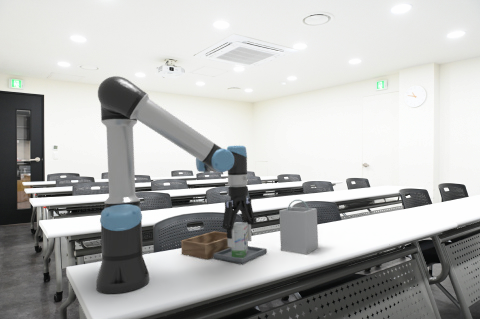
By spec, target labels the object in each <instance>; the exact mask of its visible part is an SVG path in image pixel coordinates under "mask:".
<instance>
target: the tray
mask: <svg viewBox="0 0 480 319" xmlns="http://www.w3.org/2000/svg"><path fill="white" fill-rule="evenodd" d="M266 253H267V248H264V247H256V246H250V245H248V252H247V253H246V255H245V257H244V258H240V257H232V247H231V248H228V249H225V250H223V251H220V252H217V253H214V254H213V258H212V259H214V260H218V261H223V262H227V263H234V264H238V265H244V264H246V263H248V262H251V261H253V260H255V259H257V258H260V257H262V256H264V255H266Z"/></svg>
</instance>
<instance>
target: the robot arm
mask: <svg viewBox="0 0 480 319" xmlns="http://www.w3.org/2000/svg"><path fill="white" fill-rule="evenodd" d="M97 98H98V100H99V103H100V112H101V113H100V118H101V120H100V121H101V123H102V124H103V125H104V126H105V127H106V147H107V148H106V149H107V151H106V152H107V173H108V175H107V176H108V178H107V179H108V181H107V182H108V198H107V199H106V200H105V201H104V209H102V211H101V213H100V219H99V223H100V228H101V229H100V230H101V233H100V235H101V236H100V238H101V239H100V240H101V263H100V267H99V270H98V273H97V277H96V281H95V282H96V283H95V288H96V291H98V292H99V293H103V294H122V293H126V292H131V291H132V292H133V291H135V290H138V289H140V288H143V287H145V286H146V285H147V284H148V283H149V281H150V272H149V269H148V267H147V265H146V262H145V258H144V255H143V232H142V231H143V226H142V220H143V214H142V210H141V199H140V197H138V196H137V194H136V181H135V180H136V178H135V177H136V174H135V151H134V129H133V128H134V126H135V125H136V124H137V123H138V122H140V123H142V124H143V125H145V126H146V127H147V128H149V129H151V130H152V131H153V132H155V133H157V134H159V135H160V136H162V137H164V138H165V139H166V140H168V141H170V142H171V143H173V144H174V145H175V146H177V147H178V148H180V149H182V150H183V151H185V152H186V153H187V154H189V155H191V156H192V157H194V158H195V165H196V170H197V172H201V173H203V172H204V173H208V172H210V173H211V172H215V173H216V172H218V173H225V172H227V186H228V188H227V189H228V197H230V200H229V201H225V202H224V214H223V220H222V226H221V227H222V229H224V230H226V233H227V238H228V247H233V248H234V247H235V239H234V229H233V225H234V223H235V222H236V218H237V215H238V213H239V212H241V215H242V218H243V220H244V222H247V223H248V242H252V225H254V222H255V221H256V220H255V215H254V211H253V206H252V205H253V204H252V198H251V197H247V196H249V188H248V186H247V185H248V155H247V147H246V146H245V145H228V146H227V148H222V147H221V146H219V145H218V144H216V143H215V142H213V141H211V140H210V139H208V138H207V137H206V136H204V135H203V134H201V133H200V132H198V131H197V130H196V129H194V128H193V127H192V126H189V125H188V124H187V123H185V122H184V121H183V120H181V119H180V118H178V117H176V116H175V115H174V114H172V113H171V112H169V111H167V110H166V109H164V108H163V107H162V106H160V105H159V104H158V103H155V102H154V101H153V100H152V99H150V97H149V94H148V93H147V92H146V91H144V90H142V89H141V88H140V87H138V86H137V85H136V84H134V83H133V82H132V81H131V80H129V79H127V78H125V77H123V76H117V75H116V76H109V77H106V79H104V80H103V81H102V82H101V83H100V84H99V87H98V89H97Z"/></svg>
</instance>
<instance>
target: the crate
mask: <svg viewBox="0 0 480 319" xmlns="http://www.w3.org/2000/svg"><path fill="white" fill-rule="evenodd" d="M180 243H181V244H180V245H181V247H180V248H181V255H182V254H184V255H183V256H187V255H189V256H188V257H192V256H193V257H194V258H198V259H202V260H210V259H213V254H214V253H217V252H220V251H223V250H225V249H228V248H231V247H228V238H227V232H223V231H211V232H206V233H203V234H200V235H196V236H192V237H190V238H186V239H182V240H181V241H180ZM193 257H192V258H193Z"/></svg>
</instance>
